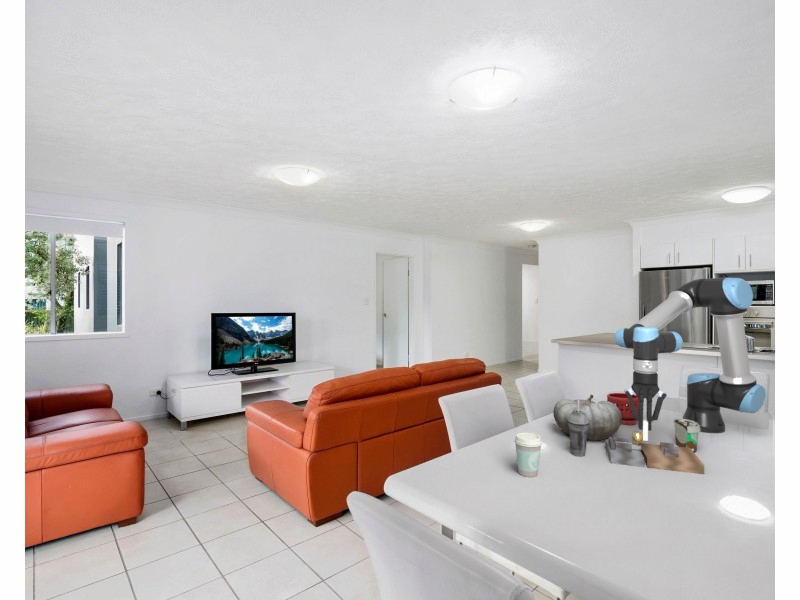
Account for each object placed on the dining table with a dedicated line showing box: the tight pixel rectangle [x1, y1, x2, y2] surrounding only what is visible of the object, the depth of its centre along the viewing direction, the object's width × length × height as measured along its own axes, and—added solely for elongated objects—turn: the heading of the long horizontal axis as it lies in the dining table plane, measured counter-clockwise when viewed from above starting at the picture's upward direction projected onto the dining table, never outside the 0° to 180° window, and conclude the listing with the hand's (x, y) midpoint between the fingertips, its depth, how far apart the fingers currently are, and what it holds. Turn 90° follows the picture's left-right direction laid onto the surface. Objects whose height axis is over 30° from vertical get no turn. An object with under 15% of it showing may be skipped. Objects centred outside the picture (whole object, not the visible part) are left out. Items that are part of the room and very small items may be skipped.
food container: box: [673, 417, 702, 454], centre depth 161 cm, size 12×6×10 cm, turn 168°
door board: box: [605, 436, 705, 475], centre depth 151 cm, size 27×16×5 cm, turn 70°
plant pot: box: [606, 392, 638, 425], centre depth 195 cm, size 13×13×12 cm
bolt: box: [615, 430, 643, 450], centre depth 153 cm, size 8×3×6 cm, turn 70°
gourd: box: [552, 394, 622, 442], centre depth 176 cm, size 25×25×17 cm
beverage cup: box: [568, 399, 589, 458], centre depth 156 cm, size 7×7×20 cm
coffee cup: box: [513, 432, 543, 478], centre depth 140 cm, size 8×8×12 cm
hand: (644, 439), depth 152 cm, fingers closed
